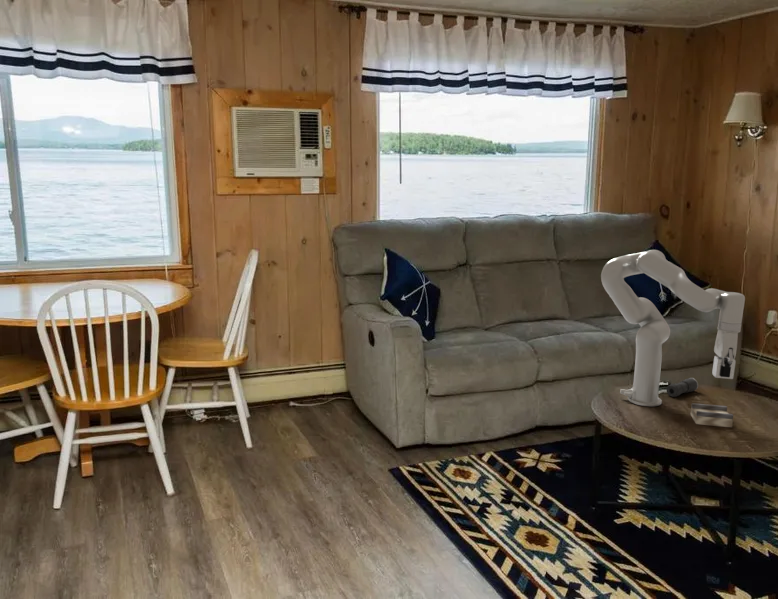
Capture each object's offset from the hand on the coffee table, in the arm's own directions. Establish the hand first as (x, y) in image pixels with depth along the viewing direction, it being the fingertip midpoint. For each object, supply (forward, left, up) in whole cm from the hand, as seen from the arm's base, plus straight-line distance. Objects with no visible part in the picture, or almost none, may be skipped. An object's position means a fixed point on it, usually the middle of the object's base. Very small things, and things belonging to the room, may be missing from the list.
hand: (722, 374), depth 249 cm
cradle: (-3, -4, -17) cm, 18 cm away
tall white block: (0, 0, -1) cm, 1 cm away
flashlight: (-8, +26, -17) cm, 32 cm away
